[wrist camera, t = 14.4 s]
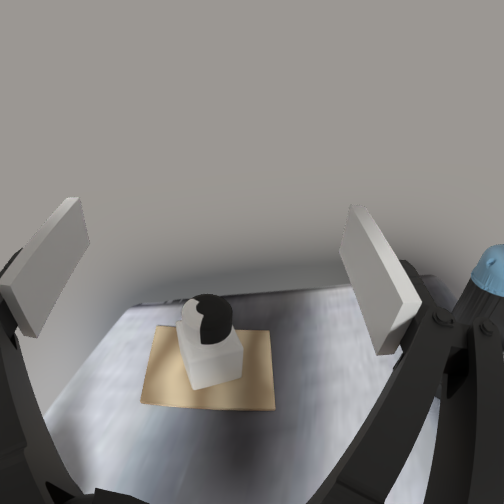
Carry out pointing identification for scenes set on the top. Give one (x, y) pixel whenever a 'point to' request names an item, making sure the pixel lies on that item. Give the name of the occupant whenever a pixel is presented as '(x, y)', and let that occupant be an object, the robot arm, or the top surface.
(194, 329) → the medicine bottle
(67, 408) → the top surface
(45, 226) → the robot arm
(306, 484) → the top surface
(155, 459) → the top surface
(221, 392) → the cork mat
